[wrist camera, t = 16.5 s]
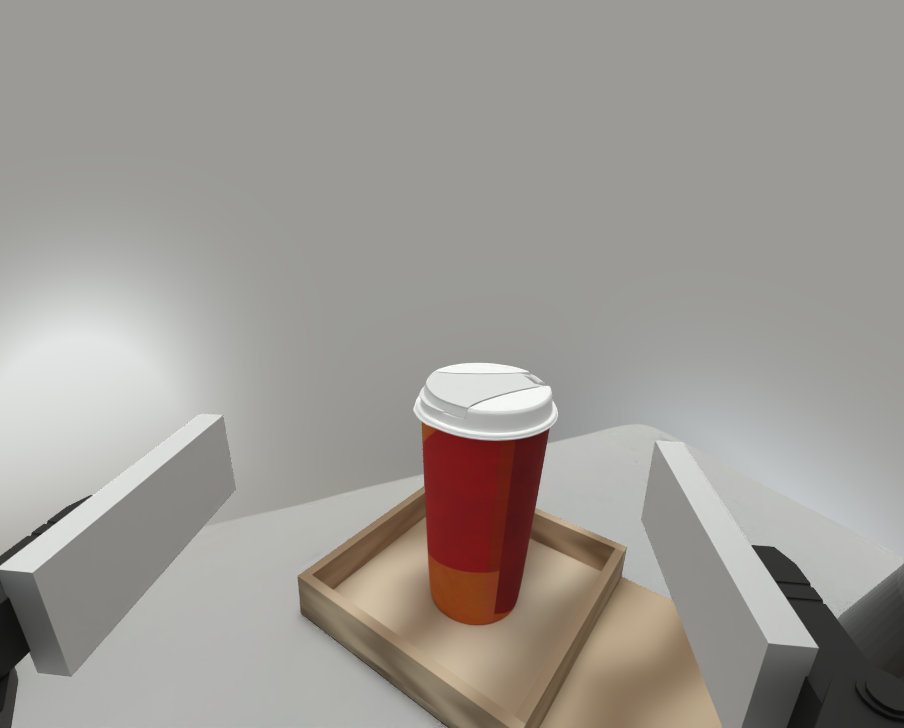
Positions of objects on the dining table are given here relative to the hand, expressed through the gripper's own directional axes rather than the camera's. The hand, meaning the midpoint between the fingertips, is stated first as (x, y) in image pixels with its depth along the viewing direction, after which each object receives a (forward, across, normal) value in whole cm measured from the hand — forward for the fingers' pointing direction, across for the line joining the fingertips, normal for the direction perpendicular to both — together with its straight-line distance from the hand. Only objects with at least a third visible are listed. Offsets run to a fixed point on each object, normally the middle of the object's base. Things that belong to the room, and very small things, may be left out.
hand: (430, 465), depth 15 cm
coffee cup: (+13, +1, -18) cm, 22 cm away
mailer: (+11, +4, -18) cm, 22 cm away
